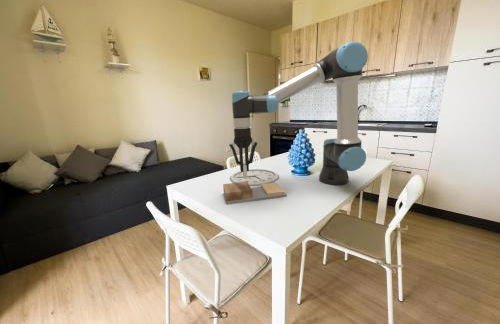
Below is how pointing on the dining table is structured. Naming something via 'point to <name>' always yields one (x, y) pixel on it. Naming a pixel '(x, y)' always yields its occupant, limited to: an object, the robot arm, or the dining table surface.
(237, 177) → the wall clock
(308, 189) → the dining table surface
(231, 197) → the brown wooden square block
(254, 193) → the underlay board
